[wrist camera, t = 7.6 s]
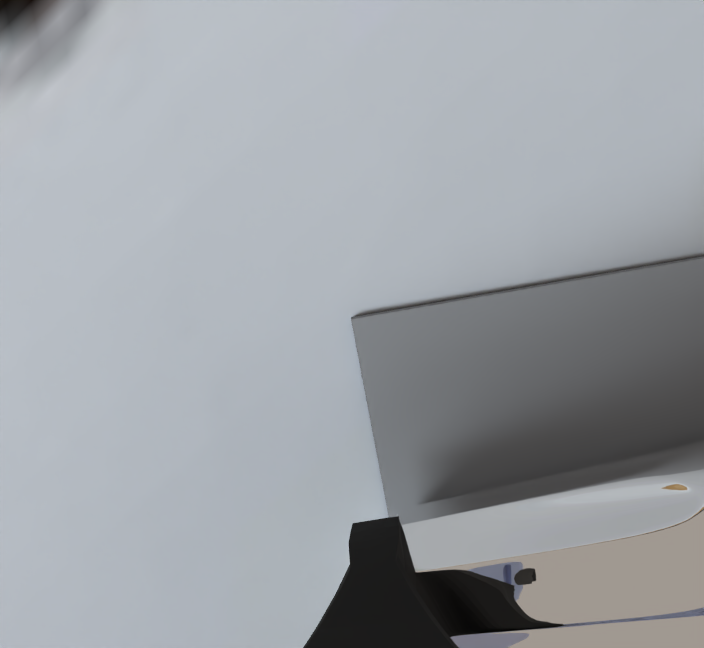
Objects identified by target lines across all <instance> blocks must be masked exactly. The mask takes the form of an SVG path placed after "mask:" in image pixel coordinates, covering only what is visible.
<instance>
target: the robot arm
mask: <svg viewBox="0 0 704 648" xmlns="http://www.w3.org/2000/svg"><path fill="white" fill-rule="evenodd" d="M349 554H350V565H349V567H348V569H347V572H346V574H345V576H344V578H343V580H342V582H341V584H340V586H339V588H338V590H337V592H336V594H335V596H334V598H333V600H332V601H331V603H330V605H329V607H328V608H327V610H326V612H325V614H324V615H323V617H322V619H321V621H320V622H319V624H318V626H317V627H316V629H315V631H314V632H313V634H312V635H311V637H310V638H309V640H308V641H307V643H306V644H305V646H304V647H303V648H459V647H458V646H457V645H456V644H455V643H454V642H453V640H452V639H451V638H450V637H449V635H448V634H447V633H446V632H445V630H444V629H443V628H442V627H441V625H440V624H439V623H438V621H437V620H436V618H435V617H434V616H433V614H432V613H431V611H430V610H429V608H428V607H427V605H426V604H425V602H424V601H423V599H422V598H421V596H420V595H419V593H418V592H417V590H416V588H415V587H414V585H413V583H412V581H411V579H410V578H409V576H408V574H407V572H406V570H405V562H404V554H403V547H402V539H401V531H400V520H399V516H396V517H390V518H384V519H377V520H371V521H365V522H359V523H353V525H352V529H351V533H350V539H349Z"/></svg>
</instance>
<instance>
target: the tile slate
mask: <svg viewBox="0 0 704 648" xmlns="http://www.w3.org/2000/svg"><path fill="white" fill-rule="evenodd" d="M351 321H352V326H353V331H354V336H355V342H356V347H357V352H358V357H359V363H360V368H361V373H362V378H363V384H364V389H365V394H366V399H367V405H368V410H369V415H370V420H371V426H372V431H373V436H374V441H375V447H376V452H377V457H378V462H379V468H380V473H381V478H382V483H383V489H384V494H385V499H386V504H387V510H388V515H389V518H390V517H396V515H397V512H398V510H401V509H404V508H407V507H412V506H416V505H420V504H425V503H429V502H434V501H438V500H442V499H447V498H451V497H456V496H460V495H465V494H469V493H474V492H478V491H483V490H487V489H492V488H496V487H501V486H505V485H509V484H514V483H518V482H523V481H527V480H532V479H536V478H541V477H545V476H550V475H554V474H559V473H563V472H568V471H572V470H577V469H581V468H586V467H590V466H595V465H599V464H604V463H608V462H613V461H617V460H622V459H627V458H631V457H636V456H641V455H645V454H649V453H653V452H658V451H662V450H666V449H670V448H674V447H678V446H682V445H686V444H690V443H694V442H698V441H702V440H704V256H701V257H695V258H689V259H684V260H678V261H672V262H666V263H661V264H655V265H649V266H643V267H638V268H632V269H626V270H620V271H615V272H609V273H603V274H597V275H592V276H586V277H580V278H574V279H568V280H563V281H557V282H551V283H545V284H540V285H534V286H528V287H522V288H517V289H511V290H505V291H499V292H494V293H488V294H482V295H476V296H471V297H465V298H459V299H453V300H448V301H442V302H436V303H430V304H424V305H419V306H413V307H407V308H401V309H396V310H390V311H384V312H378V313H373V314H367V315H361V316H355V317H352V318H351Z"/></svg>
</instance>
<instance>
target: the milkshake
mask: <svg viewBox="0 0 704 648" xmlns="http://www.w3.org/2000/svg"><path fill="white" fill-rule="evenodd" d="M396 516H399V520H400V531H401V539H402V547H403V554H404V562H405V570H406V572H407V574H408V576H409V578H410V579H411V581H412V583H413V585H414V587H415V588H416V590H417V592H418V593H419V595H420V596H421V598H422V599H423V601H424V602H425V604H426V605H427V607H428V608H429V610H430V611H431V613H432V614H433V616H434V617H435V618H436V620H437V621H438V623H439V624H440V625H441V627H442V628H443V629H444V630H445V632H446V633H447V634H448V635H449V637H450V638H451V639H452V640H453V642H454V643H455V644H456V645H457V646H458V647H459V648H704V440H702V441H698V442H694V443H690V444H686V445H682V446H678V447H674V448H670V449H666V450H662V451H658V452H653V453H649V454H645V455H641V456H636V457H631V458H627V459H622V460H617V461H613V462H608V463H604V464H599V465H595V466H590V467H586V468H581V469H577V470H572V471H568V472H563V473H559V474H554V475H550V476H545V477H541V478H536V479H532V480H527V481H523V482H518V483H514V484H509V485H505V486H501V487H496V488H492V489H487V490H483V491H478V492H474V493H469V494H465V495H460V496H456V497H451V498H447V499H442V500H438V501H434V502H429V503H425V504H420V505H416V506H412V507H407V508H404V509H401V510H398V512H397V515H396Z"/></svg>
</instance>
